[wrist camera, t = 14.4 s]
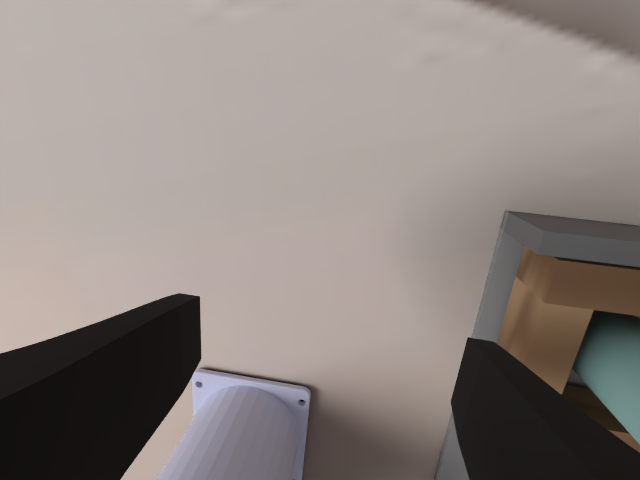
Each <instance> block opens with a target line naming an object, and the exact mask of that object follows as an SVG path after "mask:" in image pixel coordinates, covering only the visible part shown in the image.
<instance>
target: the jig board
mask: <svg viewBox="0 0 640 480" xmlns="http://www.w3.org/2000/svg"><path fill="white" fill-rule="evenodd" d="M524 246H525V247H527V248H528V249H530V250H531V251H533V252H534V253H536V254H538V255H546V256H554V257H562V258H570V259H578V260H586V261H594V262H602V263H610V264H618V265H626V266H634V267H640V226H636V225H627V224H618V223H609V222H600V221H592V220H583V219H574V218H565V217H556V216H547V215H539V214H530V213H521V212H512V211H505V214H504V218H503V221H502V225H501V229H500V233H499V237H498V240H497V244H496V248H495V252H494V256H493V259H492V263H491V267H490V271H489V275H488V278H487V282H486V286H485V290H484V294H483V297H482V301H481V305H480V309H479V313H478V316H477V320H476V324H475V328H474V332H473V335H472V338H475V339H482V340H488V341H493V342H495V343H496V342H497V339H498V335H499V332H500V328H501V325H502V321H503V318H504V315H505V311H506V308H507V304H508V301H509V297H510V294H511V290H512V287H513V284H514V280H515V277H516V273H517V270H518V266H519V263H520V259H521V256H522V252H523V249H524ZM634 316H635V315H634ZM636 317H637V318H639V319H640V316H636ZM566 385H569V386H576V387H582V388H588V389H590V388H589V387H588V386H587V385H586V384H585V382H584V381H583V380H582V379H581V378H580V377H579V376H578V375H577V373H576V372H575V371H574V370H573V369H571V371H570V374H569V377H568V379H567V382H566ZM435 480H469V477H468V473H467V470H466V467H465V463H464V460H463V457H462V454H461V450H460V447H459V443H458V439H457V434H456V429H455V424H454V418H453V412H452V415H451V419H450V423H449V427H448V430H447V434H446V438H445V442H444V446H443V449H442V453H441V457H440V461H439V465H438V468H437V472H436V476H435Z"/></svg>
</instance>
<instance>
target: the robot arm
mask: <svg viewBox="0 0 640 480" xmlns="http://www.w3.org/2000/svg"><path fill="white" fill-rule="evenodd" d="M200 360H201V328H200V296H193V295H187V294H180V293H179V294H175V295H171V296H168V297H165V298H162V299H159V300H156V301H153V302H151V303H148V304H145V305H143V306H140V307H137V308H135V309H132V310H130V311H127V312H124V313H122V314H119V315H116V316H114V317H111V318H108V319H106V320H103V321H100V322H98V323H95V324H92V325H89V326H86V327H83V328H80V329H77V330H75V331H72V332H69V333H66V334H63V335H60V336H57V337H54V338H52V339H48V340H45V341H42V342H39V343H36V344H32V345H29V346H26V347H22V348H19V349H15V350H12V351H8V352H5V353H1V354H0V480H120V479H121V478H122V476H123V475H124V473H125V472H126V471H127V469H128V468H129V466H130V465H131V464H132V462H133V461H134V460H135V458H136V457H137V455H138V454H139V453H140V451H141V450H142V449H143V447H144V446H145V444H146V443H147V442H148V440H149V439H150V437H151V436H152V435H153V433H154V432H155V431H156V429H157V428H158V426H159V425H160V424H161V422H162V421H163V420H164V418H165V417H166V415H167V414H168V413H169V411H170V410H171V408H172V407H173V406H174V404H175V403H176V401H177V400H178V399H179V397H180V396H181V394H182V393H183V391H184V390H185V388H186V386H187V384H188V383H189V381H190V379H191V377H192V390H193V420H192V421H191V423H190V424H189V426H188V428H187V429H186V431H185V433H184V434H183V436H182V437H181V439H180V441H179V442H178V444H177V445H176V447H175V449H174V450H173V452H172V454H171V455H170V457H169V458H168V460H167V462H166V463H165V465H164V466H163V468H162V470H161V471H160V473H159V475H158V476H157V478H156V479H155V480H302V475H303V465H304V456H305V446H306V436H307V427H308V417H309V407H310V397H311V392H310V390H309V389H308V388H307V387H304V386H298V385H292V384H287V383H281V382H275V381H269V380H263V379H258V378H252V377H246V376H240V375H234V374H229V373H223V372H217V371H211V370H205V369H197V370H196V368H197V366H198V364H199V362H200ZM195 370H196V371H195ZM199 382H201V383H202V384H201V383H199ZM300 400H304V401H305V402H302V401H300ZM451 406H452V412H453V418H454V424H455V429H456V434H457V439H458V443H459V447H460V450H461V454H462V457H463V460H464V463H465V467H466V470H467V473H468V477H469V480H640V453H639V452H638V451H636V450H635V449H634V448H632V447H631V446H629V445H628V444H626V443H625V442H624V441H622V440H621V439H620V438H618V437H617V436H616V435H614V434H613V433H611V432H610V431H609V430H607V429H606V428H605V427H603V426H602V425H600V424H599V423H598V422H596V421H595V420H594V419H592V418H591V417H590V416H588V415H587V414H586V413H584V412H583V411H582V410H580V409H579V408H578V407H577V406H575V405H574V404H573V403H571V402H570V401H569V400H568V399H566V398H565V397H564V396H562V395H561V394H560V393H559V392H557V391H556V390H555V389H554V388H552V387H551V386H550V385H549V384H547V383H546V382H545V381H544V380H542V379H541V378H540V377H539V376H537V375H536V374H535V373H534V372H532V371H531V370H530V369H529V368H527V367H526V366H525V365H524V364H523V363H521V362H520V361H519V360H518V359H516V358H515V357H514V356H512V355H511V354H510V353H509V352H507V351H506V350H505V349H503V348H502V347H501V346H499V345H498V344H496V343H495V342H493V341H488V340H482V339H475V338H469V337H468V339H467V343H466V346H465V350H464V354H463V358H462V361H461V365H460V369H459V373H458V377H457V380H456V384H455V388H454V392H453V395H452V399H451Z"/></svg>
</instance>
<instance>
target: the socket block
mask: <svg viewBox="0 0 640 480" xmlns="http://www.w3.org/2000/svg"><path fill="white" fill-rule="evenodd" d="M594 310H599V311H606V312H613V313H620V314H628V315H635V316H640V267H634V266H626V265H618V264H610V263H602V262H594V261H586V260H578V259H570V258H562V257H554V256H546V255H538V254H536V253H534V252H533V251H531V250H530V249H528V248H527V247H525V246H524V249H523V252H522V256H521V259H520V263H519V266H518V270H517V273H516V277H515V280H514V284H513V287H512V290H511V294H510V297H509V301H508V304H507V308H506V311H505V315H504V318H503V321H502V325H501V328H500V332H499V335H498V339H497V342H496V344H498V345H499V346H501V347H502V348H503V349H505V350H506V351H507V352H509V353H510V354H511V355H512V356H514V357H515V358H516V359H518V360H519V361H520V362H521V363H523V364H524V365H525V366H526V367H527V368H529V369H530V370H531V371H532V372H534V373H535V374H536V375H537V376H539V377H540V378H541V379H542V380H544V381H545V382H546V383H547V384H549V385H550V386H551V387H552V388H554V389H555V390H556V391H557V392H559V393H560V394H561V395H562V396H564V397H565V398H566V399H568V400H569V401H570V402H571V403H573V404H574V405H575V406H577V407H578V408H579V409H580V410H582V411H583V412H584V413H586V414H587V415H588V416H590V417H591V418H592V419H594V420H595V421H596V422H598V423H599V424H600V425H602V426H603V427H605V428H606V429H607V430H609V431H610V432H611V433H613V434H614V435H616V436H617V437H618V438H620V439H621V440H622V441H624V442H625V443H626V444H628V445H629V446H631V447H632V448H634V449H635V450H636V451H638V452H639V453H640V444H639V443H638V442H637V441H636V440H635V439H634V438H633V437H632V435H631V434H630V433H629V432H628V431H627V430H626V429H625V427H624V426H623V425H622V424H621V423H620V422H619V421H618V420H617V418H616V417H615V416H614V415H613V414H612V413H611V412H610V411H609V409H608V408H607V407H606V406H605V405H604V404H603V403H602V402H601V400H600V399H599V398H598V397H597V396H596V395H595V394H594V393H593V391H592V390H591V389H588V388H582V387H576V386H569V385H566V382H567V379H568V377H569V374H570V371H571V369H572V366H573V364H574V361H575V358H576V356H577V353H578V350H579V348H580V345H581V342H582V340H583V337H584V334H585V332H586V329H587V327H588V324H589V321H590V319H591V316H592V313H593V311H594Z"/></svg>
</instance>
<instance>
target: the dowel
mask: <svg viewBox="0 0 640 480" xmlns="http://www.w3.org/2000/svg"><path fill="white" fill-rule="evenodd" d="M572 369H573V370H574V371H575V372H576V373H577V375H578V376H579V377H580V378H581V379H582V380H583V381H584V382H585V384H586V385H587V386H588V387H589V388H590V389H591V390H592V391H593V393H594V394H595V395H596V396H597V397H598V398H599V399H600V400H601V402H602V403H603V404H604V405H605V406H606V407H607V408H608V409H609V411H610V412H611V413H612V414H613V415H614V416H615V417H616V418H617V420H618V421H619V422H620V423H621V424H622V425H623V426H624V427H625V429H626V430H627V431H628V432H629V433H630V434H631V435H632V437H633V438H634V439H635V440H636V441H637V442H638V443H639V444H640V319H639V318H637V317H636V316H634V315H628V314H620V313H613V312H606V311H599V310H594V311H593V313H592V316H591V319H590V321H589V324H588V327H587V329H586V332H585V334H584V337H583V340H582V342H581V345H580V348H579V350H578V353H577V356H576V358H575V361H574V364H573V366H572Z"/></svg>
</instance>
